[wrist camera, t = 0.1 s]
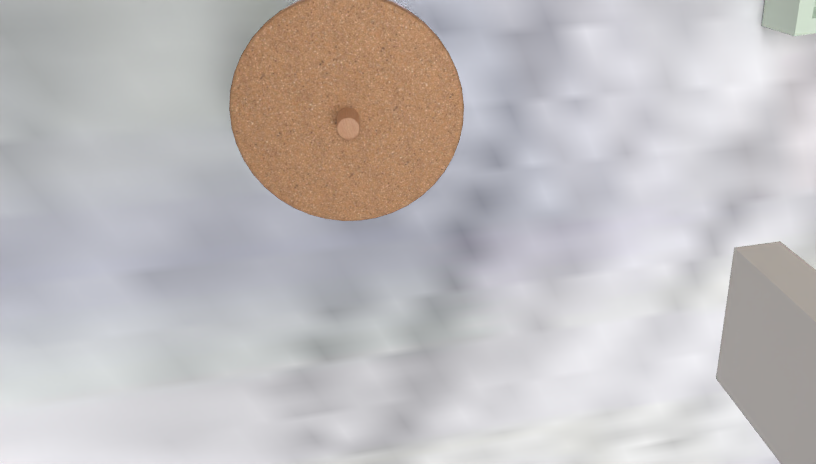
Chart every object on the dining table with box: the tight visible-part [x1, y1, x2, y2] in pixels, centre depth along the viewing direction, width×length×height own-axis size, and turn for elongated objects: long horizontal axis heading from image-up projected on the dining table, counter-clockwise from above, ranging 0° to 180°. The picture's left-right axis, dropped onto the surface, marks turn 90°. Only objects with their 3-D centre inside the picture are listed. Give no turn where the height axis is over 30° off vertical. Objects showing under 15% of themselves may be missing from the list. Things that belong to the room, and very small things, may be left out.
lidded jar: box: [229, 0, 464, 221], centre depth 33 cm, size 11×11×9 cm
